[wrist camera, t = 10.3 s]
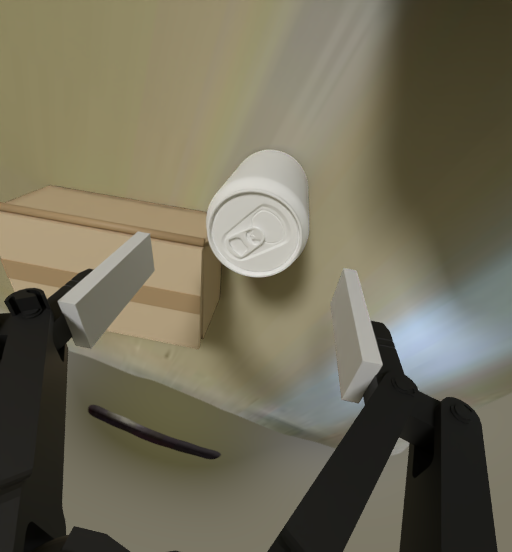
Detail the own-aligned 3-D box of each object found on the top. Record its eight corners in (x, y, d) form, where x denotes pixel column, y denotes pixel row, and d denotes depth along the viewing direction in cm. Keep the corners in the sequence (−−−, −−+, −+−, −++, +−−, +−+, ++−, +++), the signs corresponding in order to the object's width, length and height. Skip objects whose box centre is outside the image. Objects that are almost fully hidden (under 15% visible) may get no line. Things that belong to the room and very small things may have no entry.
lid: (-12, 198, 27) (-23, 201, 26) (205, 237, 26) (201, 241, 25) (30, 309, 34) (22, 314, 33) (201, 343, 33) (198, 349, 32)
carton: (49, 185, 34) (-12, 208, 27) (224, 215, 32) (203, 247, 26) (77, 271, 41) (34, 305, 35) (219, 298, 40) (203, 339, 34)
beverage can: (321, 199, 30) (329, 254, 20) (261, 234, 33) (243, 296, 23) (281, 130, 27) (268, 156, 17) (219, 177, 30) (178, 221, 20)
